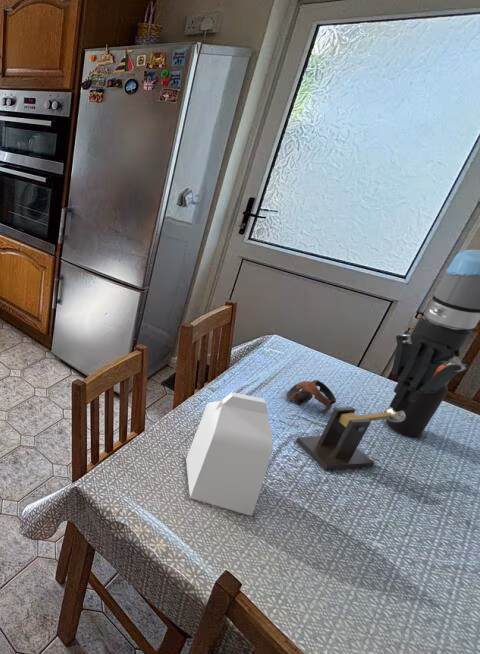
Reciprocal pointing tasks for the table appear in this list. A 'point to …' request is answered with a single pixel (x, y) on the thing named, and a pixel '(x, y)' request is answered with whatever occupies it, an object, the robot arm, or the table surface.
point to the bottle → (420, 411)
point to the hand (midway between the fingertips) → (397, 407)
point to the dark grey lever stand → (338, 443)
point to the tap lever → (375, 416)
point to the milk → (230, 453)
